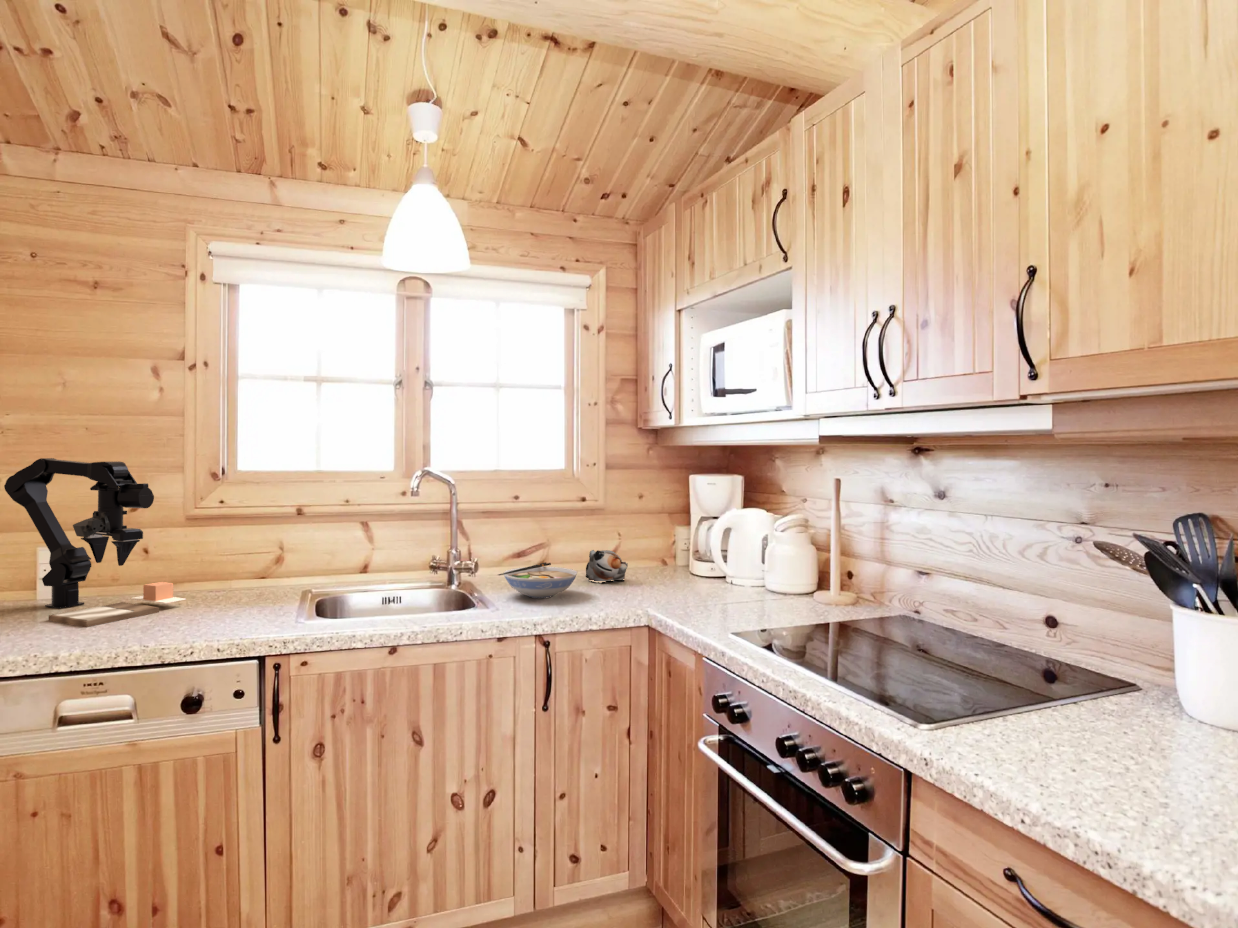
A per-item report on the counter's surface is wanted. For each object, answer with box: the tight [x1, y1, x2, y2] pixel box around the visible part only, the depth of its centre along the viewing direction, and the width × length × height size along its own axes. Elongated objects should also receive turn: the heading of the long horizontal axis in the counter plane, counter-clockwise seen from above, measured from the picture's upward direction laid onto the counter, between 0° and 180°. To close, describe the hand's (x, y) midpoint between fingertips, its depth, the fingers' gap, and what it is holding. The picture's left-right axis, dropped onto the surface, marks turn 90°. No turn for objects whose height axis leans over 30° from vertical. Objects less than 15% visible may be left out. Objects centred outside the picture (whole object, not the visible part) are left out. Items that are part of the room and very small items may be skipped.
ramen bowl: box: [497, 562, 578, 599], centre depth 218 cm, size 25×23×8 cm
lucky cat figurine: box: [584, 549, 629, 581], centre depth 243 cm, size 15×12×14 cm
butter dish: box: [130, 581, 187, 604], centre depth 196 cm, size 14×6×4 cm, turn 68°
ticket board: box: [48, 601, 160, 628], centre depth 184 cm, size 15×18×2 cm
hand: (109, 564), depth 194 cm, fingers open, 9 cm apart
